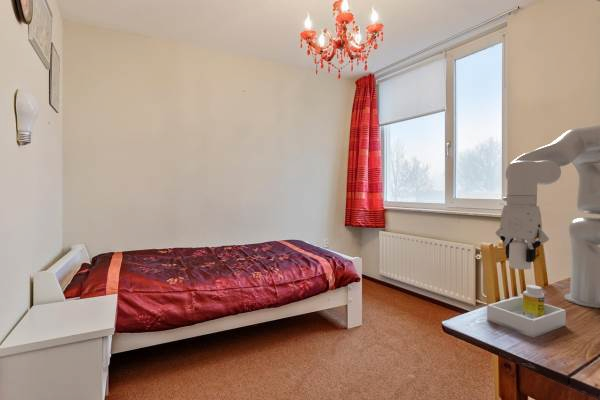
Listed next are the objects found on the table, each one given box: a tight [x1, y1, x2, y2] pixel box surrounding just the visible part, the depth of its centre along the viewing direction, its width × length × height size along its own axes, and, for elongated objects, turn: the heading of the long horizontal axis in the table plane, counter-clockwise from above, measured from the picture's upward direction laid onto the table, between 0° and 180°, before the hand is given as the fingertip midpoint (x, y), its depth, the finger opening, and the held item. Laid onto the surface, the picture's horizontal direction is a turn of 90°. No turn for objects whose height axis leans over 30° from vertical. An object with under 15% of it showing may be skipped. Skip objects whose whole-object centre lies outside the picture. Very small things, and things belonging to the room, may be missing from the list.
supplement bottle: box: [522, 284, 545, 319], centre depth 103 cm, size 6×6×10 cm
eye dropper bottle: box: [508, 238, 532, 270], centre depth 98 cm, size 4×6×12 cm
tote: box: [486, 295, 567, 338], centre depth 101 cm, size 18×14×5 cm
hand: (519, 259), depth 98 cm, fingers closed on eye dropper bottle, 5 cm apart
